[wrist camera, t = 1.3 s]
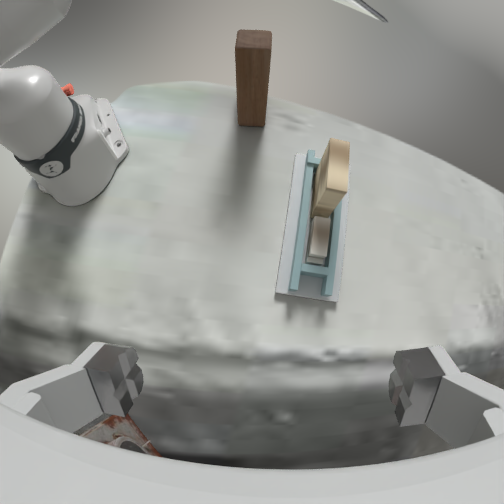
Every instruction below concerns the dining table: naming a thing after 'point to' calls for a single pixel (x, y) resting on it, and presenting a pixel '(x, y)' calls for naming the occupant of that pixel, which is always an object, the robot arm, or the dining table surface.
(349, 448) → the dining table surface
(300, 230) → the rack
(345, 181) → the beige rectangular slab
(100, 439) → the lantern
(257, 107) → the wooden block
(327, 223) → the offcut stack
